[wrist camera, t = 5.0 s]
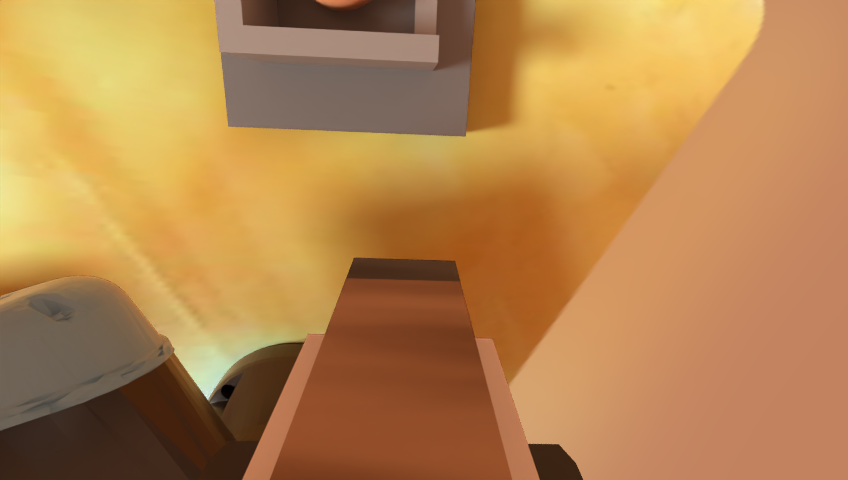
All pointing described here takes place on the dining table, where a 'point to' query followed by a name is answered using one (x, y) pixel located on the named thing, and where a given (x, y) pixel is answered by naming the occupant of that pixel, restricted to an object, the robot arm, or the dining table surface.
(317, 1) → the button
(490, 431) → the brown wooden block
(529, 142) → the dining table surface
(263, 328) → the dining table surface
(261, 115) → the switch panel
